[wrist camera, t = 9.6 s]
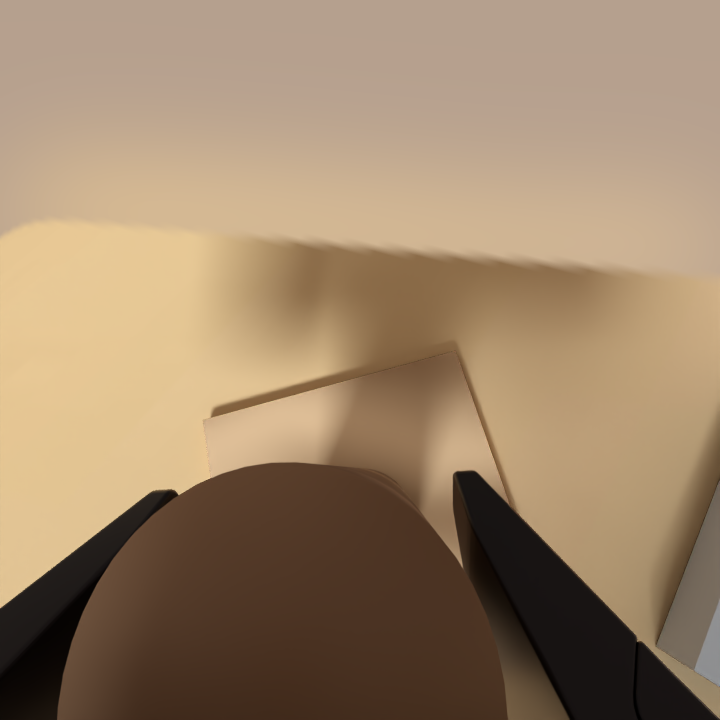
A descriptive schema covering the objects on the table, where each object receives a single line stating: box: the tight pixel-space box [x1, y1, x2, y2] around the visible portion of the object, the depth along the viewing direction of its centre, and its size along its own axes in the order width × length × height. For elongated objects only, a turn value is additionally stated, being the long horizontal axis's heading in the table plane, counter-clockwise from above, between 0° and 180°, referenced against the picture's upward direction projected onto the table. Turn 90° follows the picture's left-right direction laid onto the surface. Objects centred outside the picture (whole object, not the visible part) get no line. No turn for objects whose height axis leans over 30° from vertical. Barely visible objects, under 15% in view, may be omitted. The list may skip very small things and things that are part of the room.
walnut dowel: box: [57, 462, 508, 720], centre depth 10 cm, size 4×4×13 cm
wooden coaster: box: [203, 351, 510, 568], centre depth 17 cm, size 12×12×1 cm
